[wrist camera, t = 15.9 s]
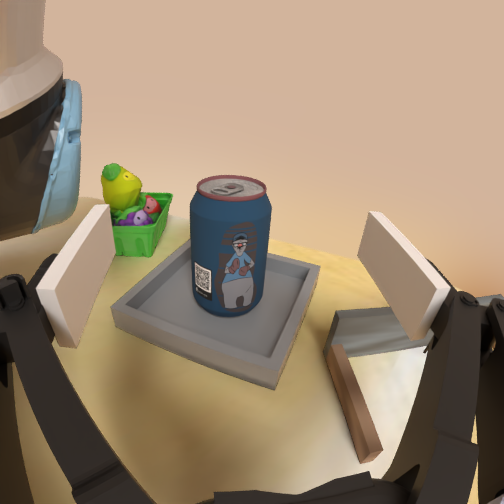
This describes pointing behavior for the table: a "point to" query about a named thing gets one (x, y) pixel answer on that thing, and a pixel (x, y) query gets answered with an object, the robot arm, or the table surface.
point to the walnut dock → (359, 344)
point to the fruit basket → (133, 212)
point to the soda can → (229, 244)
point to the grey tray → (221, 329)
